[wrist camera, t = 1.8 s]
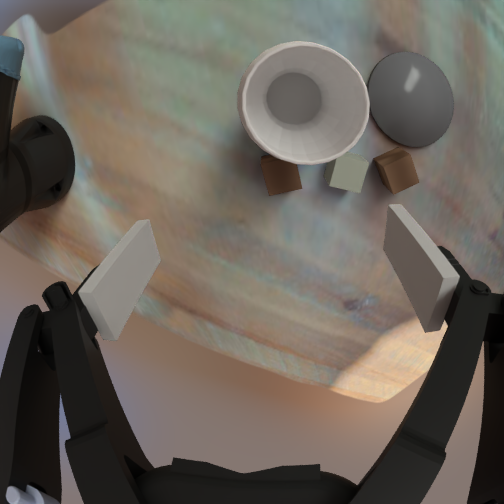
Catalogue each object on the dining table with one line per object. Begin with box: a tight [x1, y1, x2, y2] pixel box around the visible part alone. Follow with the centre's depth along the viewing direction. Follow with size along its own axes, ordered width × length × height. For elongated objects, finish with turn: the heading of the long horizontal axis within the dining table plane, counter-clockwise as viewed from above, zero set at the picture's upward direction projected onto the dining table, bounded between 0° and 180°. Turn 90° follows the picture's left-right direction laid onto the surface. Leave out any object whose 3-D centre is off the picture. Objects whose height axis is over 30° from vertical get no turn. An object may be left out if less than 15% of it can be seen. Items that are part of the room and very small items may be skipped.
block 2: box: [324, 152, 369, 193], centre depth 34 cm, size 4×4×4 cm
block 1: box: [261, 155, 302, 196], centre depth 35 cm, size 4×4×4 cm
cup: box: [238, 41, 370, 165], centre depth 25 cm, size 11×11×15 cm
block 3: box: [373, 147, 419, 195], centre depth 34 cm, size 4×4×4 cm
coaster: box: [367, 52, 454, 147], centre depth 30 cm, size 13×13×1 cm
